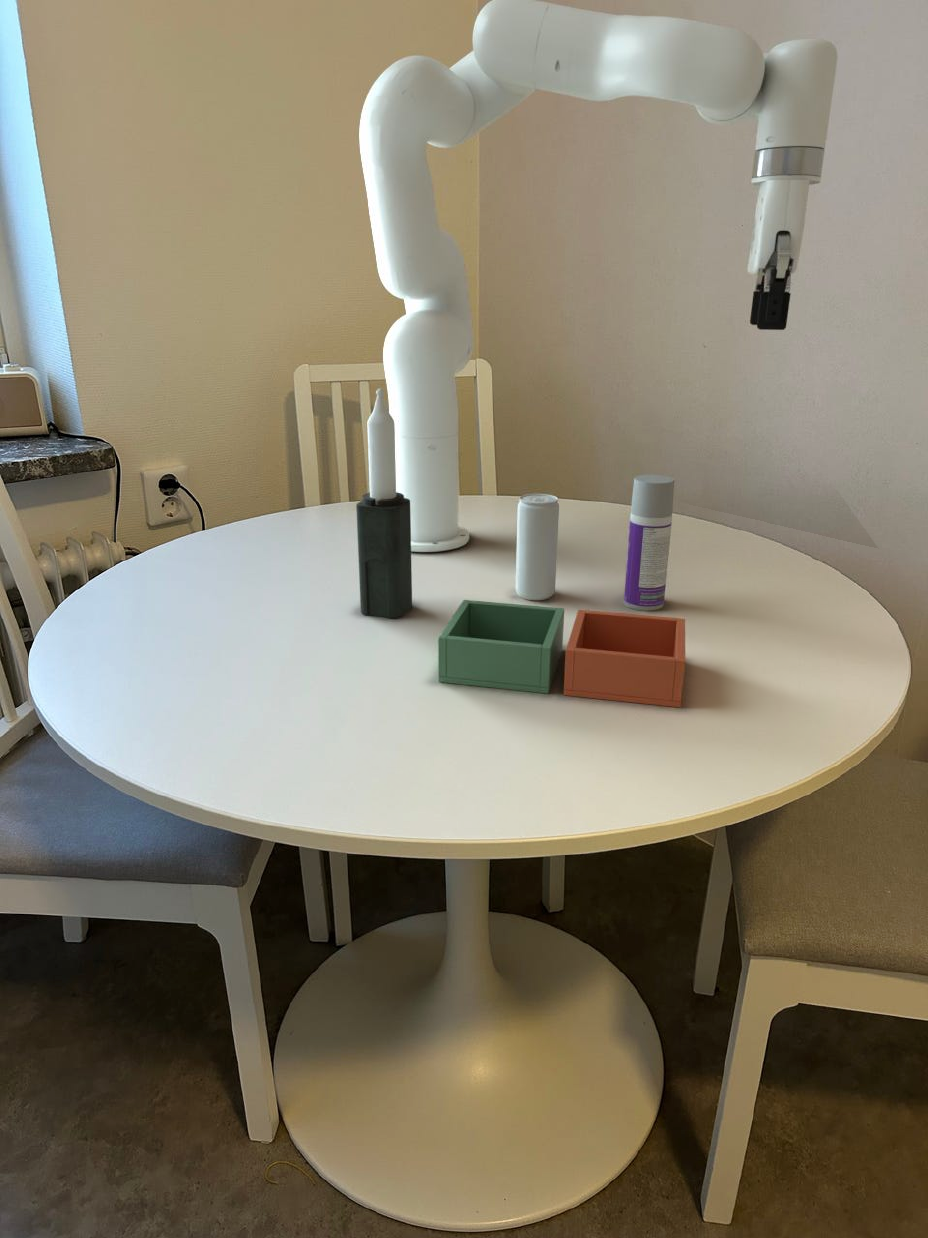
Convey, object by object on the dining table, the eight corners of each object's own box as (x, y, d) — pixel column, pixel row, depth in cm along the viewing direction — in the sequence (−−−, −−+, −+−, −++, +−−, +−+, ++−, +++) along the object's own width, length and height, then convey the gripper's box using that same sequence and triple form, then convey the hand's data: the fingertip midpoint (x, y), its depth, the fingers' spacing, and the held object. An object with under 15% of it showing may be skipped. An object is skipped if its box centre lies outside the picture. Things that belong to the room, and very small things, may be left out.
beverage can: (554, 588, 108) (559, 493, 104) (554, 602, 104) (559, 503, 99) (516, 587, 109) (518, 492, 104) (514, 600, 104) (517, 502, 100)
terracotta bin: (563, 695, 81) (565, 650, 79) (575, 650, 91) (578, 609, 89) (680, 707, 79) (685, 661, 77) (680, 660, 88) (685, 618, 87)
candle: (415, 604, 103) (411, 386, 94) (398, 619, 98) (392, 392, 89) (375, 599, 104) (368, 384, 95) (357, 614, 100) (347, 390, 91)
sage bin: (438, 682, 84) (437, 637, 82) (463, 639, 93) (463, 599, 91) (548, 693, 81) (550, 648, 80) (562, 649, 91) (564, 608, 89)
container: (619, 597, 106) (628, 474, 100) (657, 596, 106) (668, 473, 100) (629, 611, 101) (639, 483, 96) (668, 610, 102) (681, 483, 96)
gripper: (746, 177, 108) (730, 322, 115) (759, 161, 93) (739, 330, 99) (810, 176, 107) (790, 323, 113) (834, 159, 91) (809, 332, 98)
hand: (766, 326), depth 106 cm, fingers open, 9 cm apart
